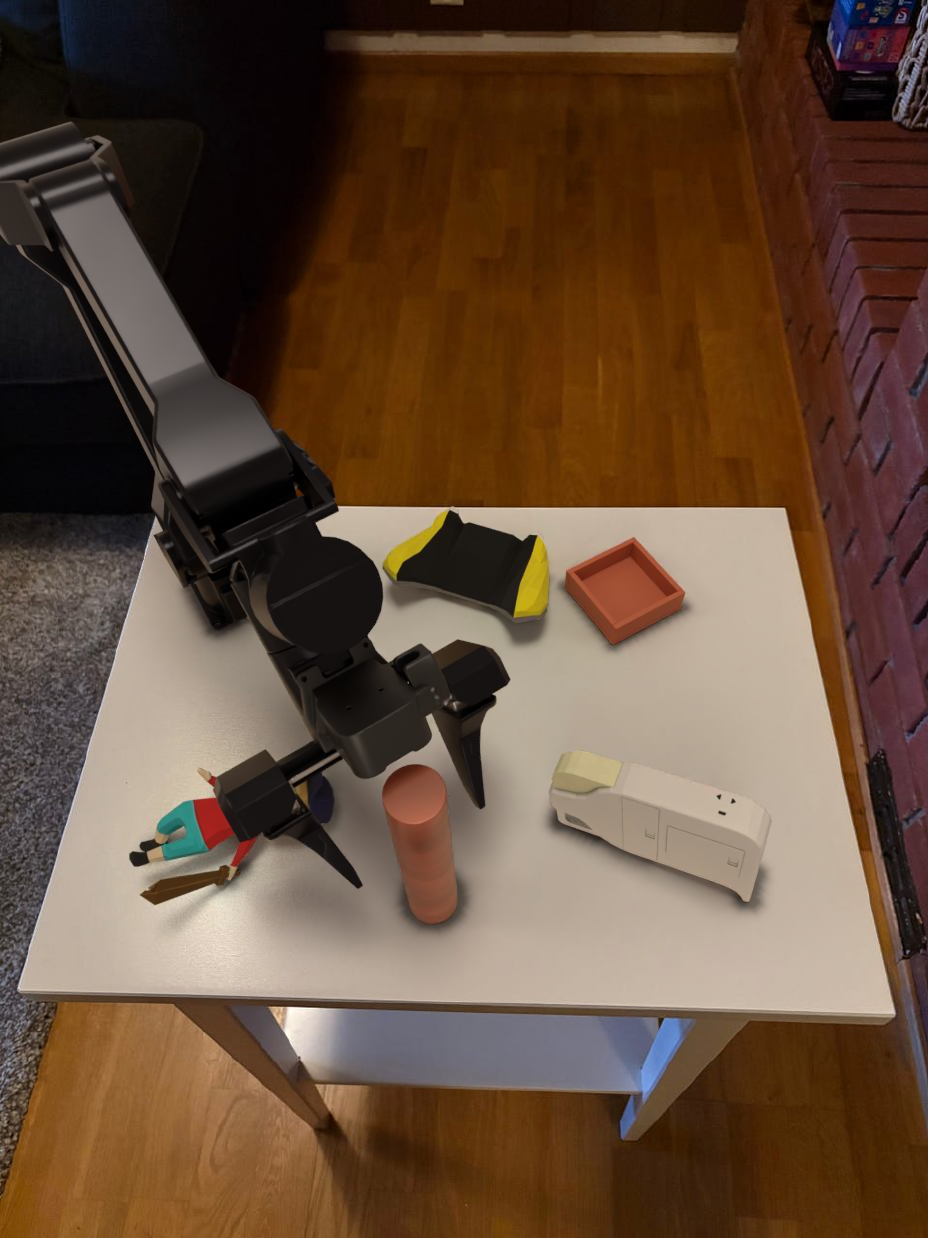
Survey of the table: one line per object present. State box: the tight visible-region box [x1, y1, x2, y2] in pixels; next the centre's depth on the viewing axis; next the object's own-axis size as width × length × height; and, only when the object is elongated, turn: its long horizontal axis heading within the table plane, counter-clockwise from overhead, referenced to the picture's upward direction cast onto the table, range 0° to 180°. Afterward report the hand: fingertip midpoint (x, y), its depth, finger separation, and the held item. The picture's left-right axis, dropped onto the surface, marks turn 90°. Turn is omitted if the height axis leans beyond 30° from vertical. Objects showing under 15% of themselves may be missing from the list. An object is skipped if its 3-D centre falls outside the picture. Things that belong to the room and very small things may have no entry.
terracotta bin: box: [564, 536, 686, 646], centre depth 78 cm, size 8×8×2 cm
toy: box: [128, 767, 335, 906], centre depth 64 cm, size 9×6×15 cm
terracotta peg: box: [381, 763, 459, 925], centre depth 56 cm, size 4×4×19 cm
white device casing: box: [548, 750, 772, 903], centre depth 62 cm, size 11×3×15 cm
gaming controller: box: [382, 505, 550, 624], centre depth 78 cm, size 15×6×10 cm
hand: (421, 845), depth 55 cm, fingers open, 9 cm apart
